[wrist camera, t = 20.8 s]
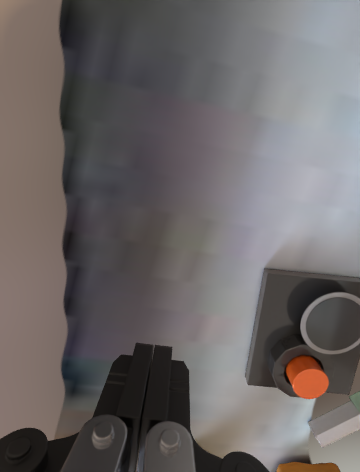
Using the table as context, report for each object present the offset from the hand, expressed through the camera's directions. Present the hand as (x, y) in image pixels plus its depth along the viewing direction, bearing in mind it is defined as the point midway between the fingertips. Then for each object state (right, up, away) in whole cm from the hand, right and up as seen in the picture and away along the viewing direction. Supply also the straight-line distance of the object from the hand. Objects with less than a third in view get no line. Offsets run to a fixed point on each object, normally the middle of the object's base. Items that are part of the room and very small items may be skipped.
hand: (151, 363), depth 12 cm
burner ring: (+17, -4, +17) cm, 24 cm away
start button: (+14, -9, +19) cm, 26 cm away
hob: (+16, -6, +21) cm, 27 cm away
